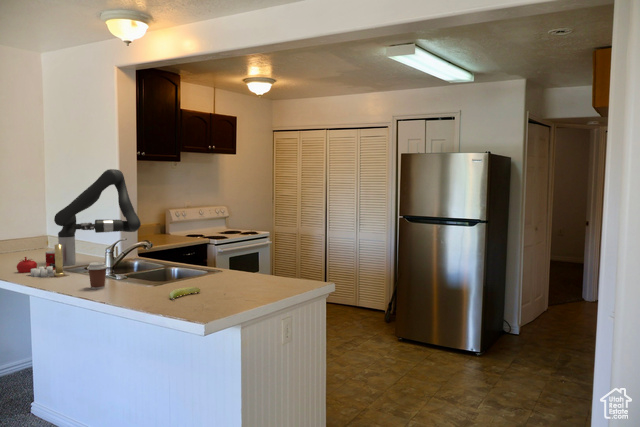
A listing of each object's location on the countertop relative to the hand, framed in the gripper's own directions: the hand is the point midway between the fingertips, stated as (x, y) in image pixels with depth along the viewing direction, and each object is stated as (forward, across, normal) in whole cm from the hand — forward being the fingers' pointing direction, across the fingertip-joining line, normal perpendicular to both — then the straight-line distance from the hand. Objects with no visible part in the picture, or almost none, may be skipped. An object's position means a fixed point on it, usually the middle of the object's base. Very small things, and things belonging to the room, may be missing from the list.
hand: (73, 226), depth 282 cm
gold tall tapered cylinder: (+8, +14, +25) cm, 29 cm away
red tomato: (+23, -10, +27) cm, 37 cm away
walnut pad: (+8, +14, +26) cm, 30 cm away
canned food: (+10, -12, +27) cm, 31 cm away
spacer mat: (+15, +5, +26) cm, 31 cm away
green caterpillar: (-41, +87, +25) cm, 99 cm away
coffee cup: (-8, +49, +25) cm, 56 cm away
